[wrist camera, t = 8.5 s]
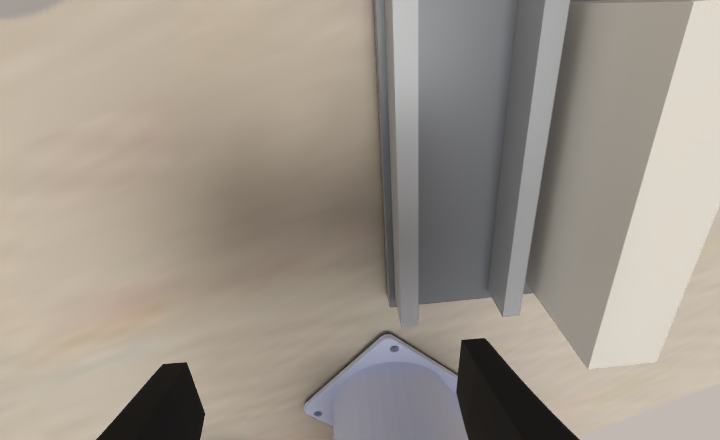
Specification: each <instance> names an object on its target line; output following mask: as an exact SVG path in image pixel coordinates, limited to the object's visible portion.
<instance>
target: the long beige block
mask: <svg viewBox="0 0 720 440" xmlns="http://www.w3.org/2000/svg"><path fill="white" fill-rule="evenodd" d="M719 205H720V0H598V1H587V2H575V3H570V4H569V10H568V17H567V23H566V29H565V35H564V42H563V48H562V54H561V60H560V66H559V73H558V79H557V85H556V91H555V97H554V104H553V110H552V116H551V122H550V129H549V135H548V141H547V147H546V153H545V160H544V166H543V172H542V178H541V185H540V191H539V197H538V203H537V209H536V216H535V222H534V228H533V234H532V241H531V247H530V253H529V259H528V265H527V272H526V278H525V282H526V283H527V284H528V286H529V287H530V289H531V290H532V291H533V293H534V294H535V296H536V297H537V298H538V300H539V301H540V303H541V304H542V305H543V307H544V308H545V310H546V311H547V312H548V314H549V315H550V317H551V318H552V319H553V321H554V322H555V324H556V325H557V327H558V328H559V329H560V331H561V332H562V334H563V335H564V336H565V338H566V339H567V341H568V342H569V343H570V345H571V346H572V348H573V349H574V350H575V352H576V353H577V355H578V356H579V357H580V359H581V360H582V362H583V363H584V364H585V366H586V367H587V369H596V368H606V367H615V366H624V365H634V364H643V363H652V362H657V359H658V357H659V354H660V352H661V349H662V347H663V345H664V342H665V340H666V337H667V335H668V332H669V330H670V327H671V325H672V322H673V320H674V317H675V315H676V312H677V310H678V307H679V305H680V302H681V300H682V297H683V295H684V292H685V290H686V287H687V285H688V282H689V280H690V277H691V275H692V272H693V270H694V267H695V265H696V263H697V260H698V258H699V255H700V253H701V250H702V248H703V245H704V243H705V240H706V238H707V235H708V233H709V230H710V228H711V225H712V223H713V220H714V218H715V215H716V213H717V210H718V208H719Z"/></svg>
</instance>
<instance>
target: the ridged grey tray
mask: <svg viewBox="0 0 720 440" xmlns="http://www.w3.org/2000/svg"><path fill="white" fill-rule="evenodd" d="M587 1H598V0H373V4H374V25H375V46H376V67H377V88H378V109H379V130H380V151H381V172H382V192H383V213H384V234H385V255H386V276H387V295H388V301H389V306H390V307H397V309H398V314H399V318H400V323H401V327H406V326H416V325H418V304H428V303H439V302H449V301H459V300H469V299H479V298H489V297H492V298H493V300H494V302H495V304H496V306H497V307H498V309H499V311H500V313H501V315H502V316H503V317H506V316H516V315H520V309H521V303H522V296H523V294H530V293H533V291H532V290H531V289H530V287H529V286H528V284H527V283H526V282H525V278H526V272H527V265H528V259H529V253H530V247H531V241H532V234H533V228H534V222H535V216H536V209H537V203H538V197H539V191H540V185H541V178H542V172H543V166H544V160H545V153H546V147H547V141H548V135H549V129H550V122H551V116H552V110H553V104H554V97H555V91H556V85H557V79H558V73H559V66H560V60H561V54H562V48H563V42H564V35H565V29H566V23H567V17H568V10H569V4H570V3H575V2H587Z"/></svg>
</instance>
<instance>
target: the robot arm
mask: <svg viewBox="0 0 720 440" xmlns="http://www.w3.org/2000/svg"><path fill="white" fill-rule="evenodd" d="M392 346H396V347H392ZM304 412H305V413H306V414H307V415H309V416H311V417H313V418H315V419H317V420H320V421H322V422H324V423H326V424H328V425H330V426H332V427H334V440H579V439H578V438H577V437H576V436H575V435H574V434H573V433H572V432H571V431H570V430H569V429H568V428H567V427H566V426H565V425H564V424H563V423H562V422H561V421H560V420H559V419H558V418H557V417H556V416H555V415H554V414H553V413H552V412H551V411H550V410H549V409H548V408H547V407H546V406H545V405H544V404H543V403H542V402H541V400H540V399H539V398H538V397H537V396H536V395H535V394H534V393H533V392H532V391H531V390H530V389H529V388H528V387H527V386H526V384H525V383H524V382H523V381H522V380H521V379H520V378H519V377H518V376H517V374H516V373H515V372H514V371H513V370H512V369H511V368H510V367H509V365H508V364H507V363H506V362H505V361H504V360H503V358H502V357H501V356H500V355H499V354H498V353H497V351H496V350H495V349H494V348H493V347H492V345H491V344H490V343H489V342H488V341H487V340H486V339H485V338H481V339H469V340H462V342H461V351H460V361H459V370H458V375H456V374H454V373H453V372H451V371H450V370H448V369H446V368H445V367H443V366H441V365H440V364H438V363H437V362H435V361H433V360H432V359H430V358H429V357H427V356H425V355H424V354H422V353H421V352H419V351H417V350H416V349H414V348H413V347H411V346H409V345H408V344H406V343H405V342H403V341H401V340H400V339H398V338H396V337H395V336H393V335H391V334H386V335H383V336H381V337H380V338H379V339H378V340H377V341H375V342H374V343H373V344H372V345H371V346H370V347H369V348H367V349H366V350H365V351H364V352H363V353H362V354H361V355H359V356H358V357H357V358H356V359H355V360H354V361H353V362H352V363H350V364H349V365H348V366H347V367H346V368H345V369H344V370H342V371H341V372H340V373H339V374H338V375H337V376H336V377H334V378H333V379H332V380H331V381H330V382H329V383H328V384H327V385H325V386H324V387H323V388H322V389H321V390H320V391H319V392H317V393H316V394H315V395H314V396H313V397H312V398H311V399H309V400H308V401H307V402H306V403H305V404H304ZM204 416H205V412H204V409H203V407H202V404H201V401H200V398H199V395H198V393H197V390H196V387H195V384H194V381H193V379H192V376H191V373H190V370H189V367H188V365H187V362H185V363H172V364H163V365H162V366H161V367H160V368H159V369H158V370H157V371H156V372H155V374H154V375H153V376H152V377H151V378H150V379H149V380H148V382H147V383H146V384H145V385H144V386H143V387H142V388H141V390H140V391H139V392H138V393H137V394H136V395H135V397H134V398H133V399H132V400H131V401H130V402H129V403H128V405H127V406H126V407H125V408H124V409H123V410H122V412H121V413H120V414H119V415H118V416H117V417H116V418H115V419H114V421H113V422H112V423H111V424H110V425H109V426H108V427H107V428H106V429H105V431H104V432H103V433H102V434H101V435H100V436H99V437H98V438H97V439H96V440H200V437H201V432H202V427H203V422H204Z"/></svg>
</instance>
